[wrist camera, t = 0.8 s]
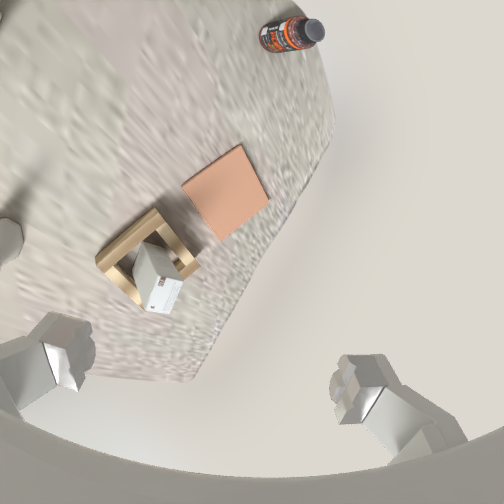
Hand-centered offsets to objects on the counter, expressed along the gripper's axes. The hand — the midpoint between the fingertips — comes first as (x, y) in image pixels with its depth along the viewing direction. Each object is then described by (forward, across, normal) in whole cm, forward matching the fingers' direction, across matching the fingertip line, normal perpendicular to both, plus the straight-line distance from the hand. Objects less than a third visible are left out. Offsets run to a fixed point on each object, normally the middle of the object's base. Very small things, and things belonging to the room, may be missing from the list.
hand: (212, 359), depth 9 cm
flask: (+26, +36, +10) cm, 45 cm away
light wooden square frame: (+38, +14, +15) cm, 43 cm away
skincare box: (+39, +14, +15) cm, 44 cm away
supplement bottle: (+45, -2, -26) cm, 52 cm away
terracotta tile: (+45, +1, +3) cm, 45 cm away
